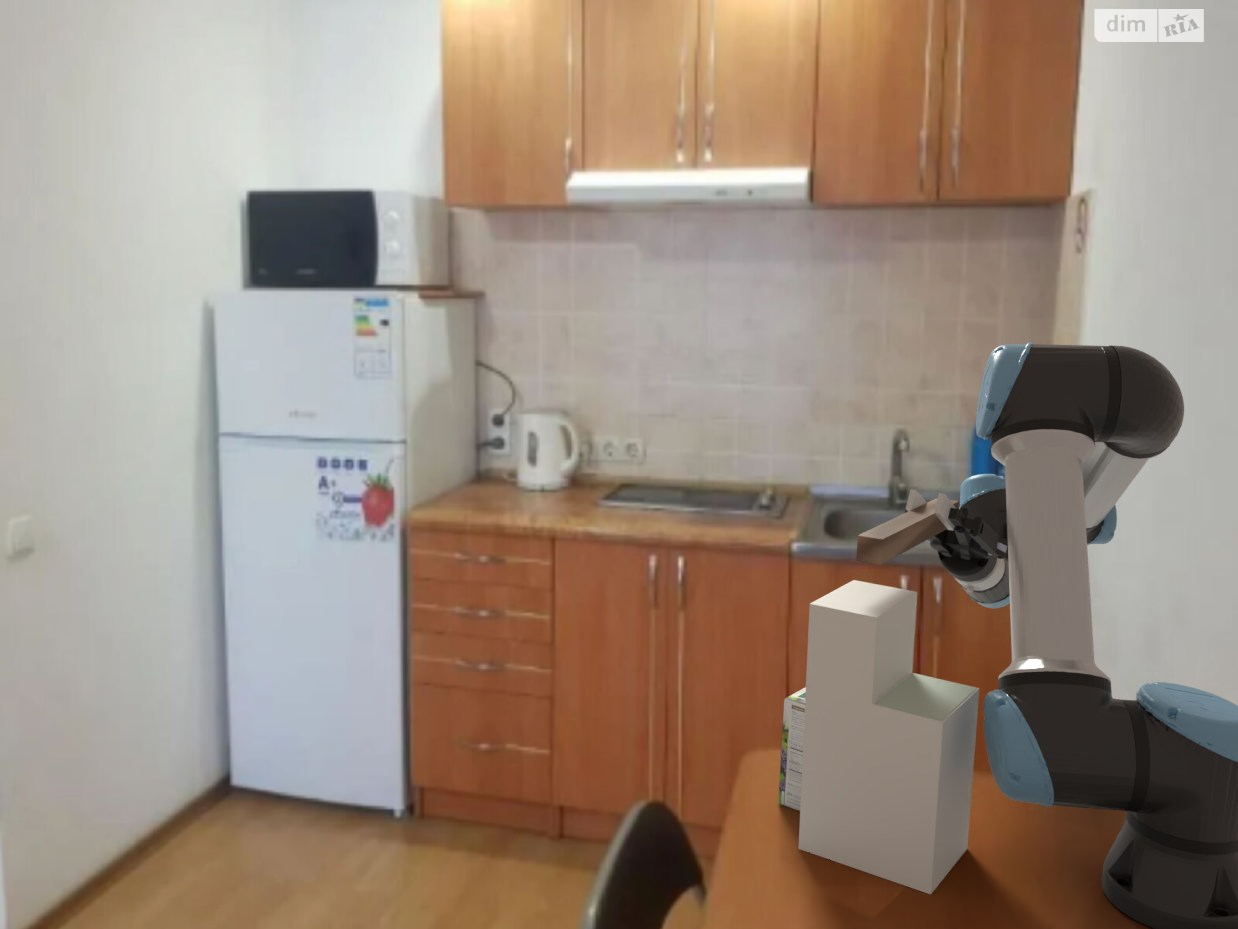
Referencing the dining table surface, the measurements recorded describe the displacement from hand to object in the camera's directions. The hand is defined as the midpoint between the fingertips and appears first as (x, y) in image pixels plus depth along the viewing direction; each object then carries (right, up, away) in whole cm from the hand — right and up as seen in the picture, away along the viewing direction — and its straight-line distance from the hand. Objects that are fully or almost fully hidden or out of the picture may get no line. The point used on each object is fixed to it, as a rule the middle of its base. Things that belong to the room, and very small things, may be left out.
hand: (925, 501), depth 141 cm
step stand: (-8, -41, -10) cm, 42 cm away
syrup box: (-14, -39, +1) cm, 41 cm away
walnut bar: (-3, -5, -3) cm, 6 cm away
